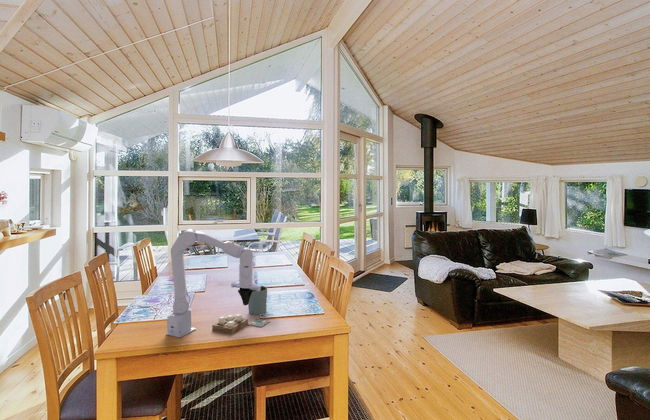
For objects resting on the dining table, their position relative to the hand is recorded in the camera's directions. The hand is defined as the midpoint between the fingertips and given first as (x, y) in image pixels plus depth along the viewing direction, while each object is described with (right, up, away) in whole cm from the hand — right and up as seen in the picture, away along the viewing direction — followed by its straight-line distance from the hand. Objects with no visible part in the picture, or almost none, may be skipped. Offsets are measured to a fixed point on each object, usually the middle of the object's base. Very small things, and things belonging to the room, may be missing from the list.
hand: (245, 304), depth 161 cm
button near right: (-5, -9, -6) cm, 12 cm away
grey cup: (+2, -8, +17) cm, 19 cm away
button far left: (-7, -9, +1) cm, 11 cm away
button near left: (-10, -8, -4) cm, 13 cm away
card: (+5, -9, +3) cm, 11 cm away
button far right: (-3, -7, -1) cm, 8 cm away
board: (-6, -10, -2) cm, 12 cm away
